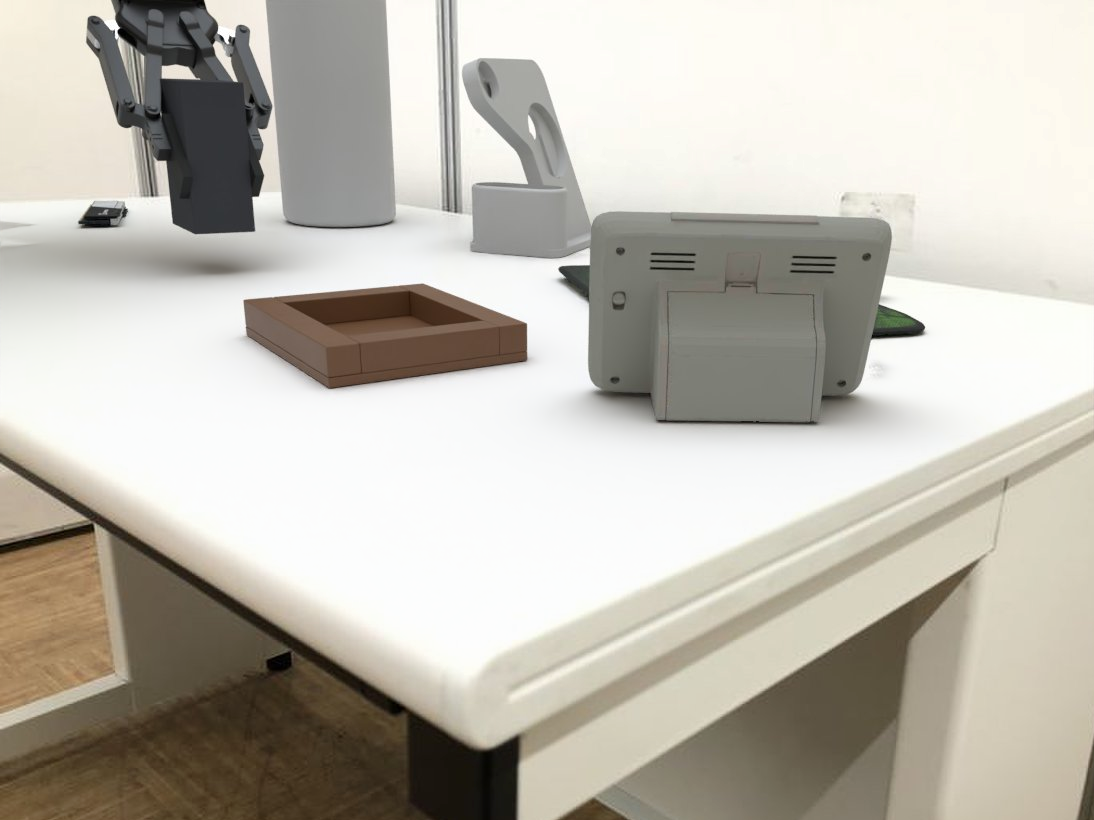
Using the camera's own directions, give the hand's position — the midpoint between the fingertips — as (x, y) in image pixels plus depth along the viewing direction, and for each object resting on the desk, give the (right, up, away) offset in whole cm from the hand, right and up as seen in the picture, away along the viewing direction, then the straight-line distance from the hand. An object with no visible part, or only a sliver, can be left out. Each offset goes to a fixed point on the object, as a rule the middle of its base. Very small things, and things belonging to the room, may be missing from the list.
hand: (222, 186), depth 91 cm
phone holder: (+24, 0, +25) cm, 35 cm away
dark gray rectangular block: (-2, -3, +4) cm, 5 cm away
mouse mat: (+41, -10, -2) cm, 43 cm away
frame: (+18, -16, -19) cm, 30 cm away
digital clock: (+40, -20, -28) cm, 53 cm away
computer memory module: (-25, +5, +32) cm, 41 cm away
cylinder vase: (0, +5, +36) cm, 36 cm away
